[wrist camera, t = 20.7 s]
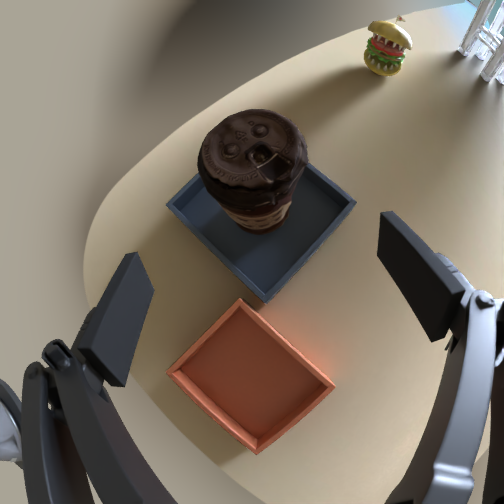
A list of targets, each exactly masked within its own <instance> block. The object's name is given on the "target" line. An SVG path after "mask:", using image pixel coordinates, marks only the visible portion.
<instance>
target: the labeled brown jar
mask: <svg viewBox="0 0 504 504" xmlns="http://www.w3.org/2000/svg"><path fill="white" fill-rule="evenodd" d="M307 155H308V154H307V145H306V142H305V139H304V137H303V135H302V134H301V132H300V131H299V130H298V127H297V126H296V125H295V124H294V123H293V122H292V121H291V120H289V119H288V118H286V117H284V116H282V115H280V114H278V113H276V112H273V111H270V110H265V109H249V110H245V111H241V112H238V113H236V114H233V115H230V116H228V117H227V118H225V119H224V120H223V121H222V122H220V123H219V124H218V125H217V126H216V127H214V128H213V129H212V130H211V131H210V132H209V133H208V134H207V136H206V137H205V139H204V141H203V142H202V146H201V148H200V151H199V155H198V162H197V166H198V171H199V175H200V177H201V180H202V182H203V184H204V185H205V188H206V190H207V192H208V193H209V194H210V195H211V196H212V197H213V198H214V199H215V200H216V201H217V202H218V203H219V205H220V206H221V207H222V208H223V209H224V211H225V212H226V213H227V214H228V215H229V216H230V218H232V219H233V220H234V221H235V222H236V224H237V225H238V226H239V228H241V229H242V230H244V231H245V232H248V233H251V234H255V235H263V234H268V233H270V232H273V231H275V230H276V229H278V228H279V227H281V226H282V225H283V223H284V222H285V220H286V219H287V218H288V216H289V206H290V204H291V201H292V199H291V196H292V194H293V192H294V190H295V187H296V184H297V182H298V180H299V178H300V176H301V175H302V173H303V171H304V167H305V166H306V165H308V164H309V163H308V161H309V160H308V156H307Z"/></svg>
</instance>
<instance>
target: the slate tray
mask: <svg viewBox="0 0 504 504" xmlns="http://www.w3.org/2000/svg"><path fill="white" fill-rule="evenodd" d="M291 199H292V201H291V204H290V206H289V216H288V218H287V219H286V220H285V222H284V223H283V225H282V226H281V227H279V228H278V229H276V230H275V231H273V232H270V233H268V234H263V235H255V234H251V233H248V232H245V231H244V230H242V229H241V228H239V226H238V225H237V224H236V222H235V221H234V220H233V219H232V218H230V216H229V215H228V214H227V213H226V212H225V211H224V209H223V208H222V207H221V206H220V205H219V203H218V202H217V201H216V200H215V199H214V198H213V197H212V196H211V195H210V194H209V193H208V192H207V190H206V188H205V185H204V184H203V182H202V180H201V177H200V175H199V172H198V173H197V174H196V175H195V176H194V177H193V178H192V179H191V180H190V181H189V182H188V183H187V184H186V185H185V186H184V187H183V188H182V189H181V190H180V191H179V192H178V193H177V194H176V195H175V196H174V197H173V198H172V199H171V200H170V201H169V202H168V203H167V204H166V206H167V207H168V208H169V209H170V210H171V211H172V212H173V213H174V214H175V215H176V216H177V217H178V218H179V219H180V220H181V221H182V222H183V223H184V224H185V225H186V226H187V227H188V228H189V230H190V231H191V232H192V233H193V234H194V235H195V236H196V237H197V238H198V239H199V240H200V241H201V242H202V243H203V244H204V245H205V246H206V247H207V248H208V249H209V250H210V251H211V252H212V253H213V254H214V255H216V256H217V257H218V258H219V259H220V260H221V261H222V262H223V263H224V264H225V265H226V266H227V267H228V268H229V269H230V270H231V271H232V272H233V273H234V274H235V275H236V276H237V277H238V278H239V279H240V280H241V281H242V282H243V283H244V284H245V285H246V286H247V287H248V288H249V289H250V290H251V291H252V292H253V293H255V294H256V295H257V296H258V297H259V298H260V299H261V300H262V301H263V302H264V303H265V304H267V303H268V302H269V301H270V300H271V299H272V298H273V297H274V296H275V295H276V294H277V293H278V292H279V291H280V290H281V289H282V288H283V287H284V286H285V284H286V283H287V282H288V281H289V280H290V279H291V278H292V277H293V276H294V275H295V274H296V273H297V272H298V271H299V269H300V268H301V267H302V266H303V265H304V264H305V263H306V262H307V261H308V260H309V259H310V257H311V256H312V255H313V254H314V253H315V252H316V251H317V250H318V249H319V247H320V246H321V245H322V244H323V243H324V242H325V241H326V240H327V239H328V237H329V236H330V235H331V234H332V233H333V232H334V231H335V229H336V228H337V227H338V226H339V225H340V224H341V223H342V221H343V220H344V219H345V218H346V217H347V216H348V214H349V213H350V212H351V211H352V209H353V208H354V206H355V205H356V203H357V202H356V201H355V200H354V199H353V198H352V197H350V196H349V195H348V194H347V193H346V192H345V191H343V190H342V189H341V188H340V187H339V186H337V185H336V184H335V183H334V182H333V181H331V180H330V179H329V178H328V177H326V176H325V175H324V174H323V173H321V172H320V171H319V170H318V169H316V168H315V167H314V166H312V165H311V164H310V163H309V164H308V165H306V166H305V167H304V171H303V173H302V175H301V176H300V178H299V180H298V182H297V184H296V187H295V190H294V192H293V194H292V196H291Z"/></svg>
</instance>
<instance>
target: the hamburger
mask: <svg viewBox="0 0 504 504" xmlns="http://www.w3.org/2000/svg"><path fill="white" fill-rule="evenodd" d="M397 21H404V22H406V21H405V20H404V19H403V18H402V17H400V16H399V15H398V17H397V20H396V22H397ZM395 24H396V23H395ZM395 24H392V23H390V22H386V21H375V22H374V21H373V22H372V23H371V24H370V25H369V26H368V30H369V31H371V32H373V37H371V38H369V39H368V42H367V43H368V45H367V49H366V50H365V52H364V60H365V63H366V65H367V66H368V68H369V69H370V70H372V71H373V72H374V73H376V74H379V75H382V76H392V75H395V74H396V73H398V71H399V70H400V69H401V62H403V59H404V58H405V52H404V50H405V49H406V48H407V49H409V50H411V49H412V40H411V38H410V36H409V35H408V34H407V33H406V32H405V31H404V30H403V29H402V28H400V27H398V26H397V25H395ZM377 34H378V35H377Z"/></svg>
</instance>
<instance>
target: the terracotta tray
mask: <svg viewBox="0 0 504 504" xmlns="http://www.w3.org/2000/svg"><path fill="white" fill-rule="evenodd" d="M166 374H167V375H168V376H169V377H170V378H171V379H172V380H173V381H174V382H175V383H176V384H177V385H178V386H179V387H180V388H181V389H182V390H183V391H184V392H185V393H186V394H187V395H188V396H189V397H190V398H191V399H192V400H193V401H194V402H195V403H196V404H197V405H198V406H199V407H200V408H201V409H202V410H203V411H204V412H206V413H207V414H208V415H209V416H210V417H211V418H212V419H213V420H214V421H215V422H217V423H218V424H219V425H220V426H221V427H222V428H223V429H225V430H226V431H227V432H228V433H229V434H231V435H232V436H233V437H234V438H235V439H237V440H238V441H239V442H240V443H242V444H243V445H244V446H245V447H247V448H248V449H249V450H250V451H252V452H253V453H254V454H256V455H257V454H258V453H260V452H261V451H263V450H264V449H265V448H267V447H268V446H269V445H271V444H272V443H273V442H274V441H276V440H277V439H278V438H279V437H281V436H282V435H283V434H284V433H286V432H287V431H288V430H289V429H291V428H292V427H293V426H294V425H295V424H296V423H298V422H299V421H300V420H301V419H302V418H303V417H305V416H306V415H307V414H308V413H309V412H310V411H311V410H312V409H313V408H315V407H316V406H317V405H318V404H319V403H320V402H321V401H322V400H323V399H324V398H325V397H326V396H327V395H328V394H329V393H330V392H331V391H332V390H333V389H334V388H335V387H336V386H335V385H334V384H333V382H332V381H331V380H330V379H329V378H328V377H327V376H326V375H325V374H324V373H323V372H321V371H320V370H319V369H318V368H317V367H316V366H315V365H314V364H313V363H311V362H310V361H309V360H308V359H307V358H306V357H305V356H304V355H303V354H301V353H300V352H299V351H298V350H297V349H296V348H295V347H294V346H293V345H292V344H291V343H289V342H288V341H287V340H286V339H285V338H284V337H283V336H282V335H281V334H280V333H279V332H278V331H277V330H276V329H274V328H273V327H272V326H271V325H270V324H269V323H268V322H267V321H266V320H265V319H264V318H263V317H262V316H261V315H260V314H259V313H258V312H257V311H256V310H254V309H253V308H252V307H251V306H250V305H249V304H248V303H247V302H246V301H245V300H244V299H241V298H239V299H238V300H237V301H236V302H235V303H234V304H233V305H232V306H231V307H230V308H229V309H228V310H227V311H226V312H225V313H224V314H223V315H222V316H221V317H220V318H219V319H218V320H217V321H216V322H215V323H214V324H213V325H212V326H211V327H210V328H209V329H208V330H207V331H206V332H205V333H204V334H203V335H202V336H201V337H200V338H199V339H198V340H197V341H196V342H195V343H194V344H193V345H192V346H191V347H190V348H189V349H188V350H187V351H186V352H185V353H184V354H183V355H182V356H181V357H180V358H179V359H178V360H177V361H176V362H175V363H174V364H173V365H172V366H171V367H170V368H169V369H168V370H167V371H166Z"/></svg>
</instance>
